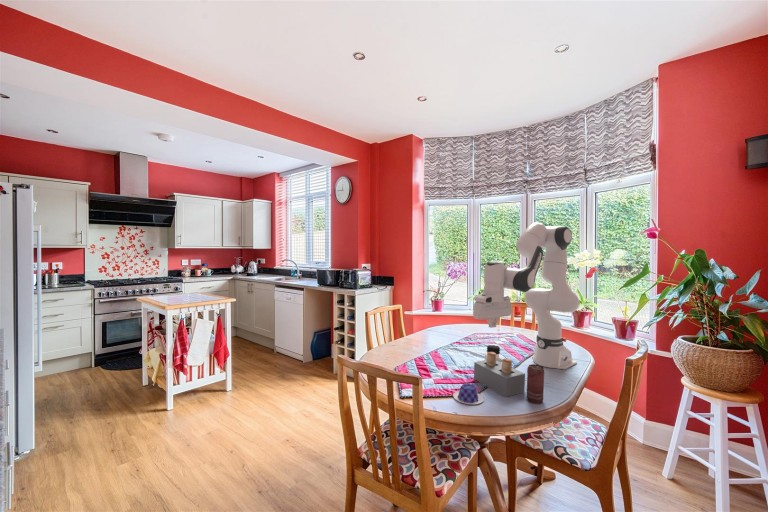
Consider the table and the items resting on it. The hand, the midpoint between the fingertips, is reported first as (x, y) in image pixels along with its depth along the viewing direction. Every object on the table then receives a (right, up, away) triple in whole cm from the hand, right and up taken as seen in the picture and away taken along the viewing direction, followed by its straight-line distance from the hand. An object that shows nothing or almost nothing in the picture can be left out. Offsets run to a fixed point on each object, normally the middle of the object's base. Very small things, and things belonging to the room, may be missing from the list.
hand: (492, 327), depth 150 cm
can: (+12, -26, -16) cm, 33 cm away
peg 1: (0, -20, +1) cm, 20 cm away
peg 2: (+4, -20, -7) cm, 22 cm away
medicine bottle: (+5, -25, +15) cm, 29 cm away
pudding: (-15, -26, -15) cm, 33 cm away
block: (+2, -25, -3) cm, 26 cm away
